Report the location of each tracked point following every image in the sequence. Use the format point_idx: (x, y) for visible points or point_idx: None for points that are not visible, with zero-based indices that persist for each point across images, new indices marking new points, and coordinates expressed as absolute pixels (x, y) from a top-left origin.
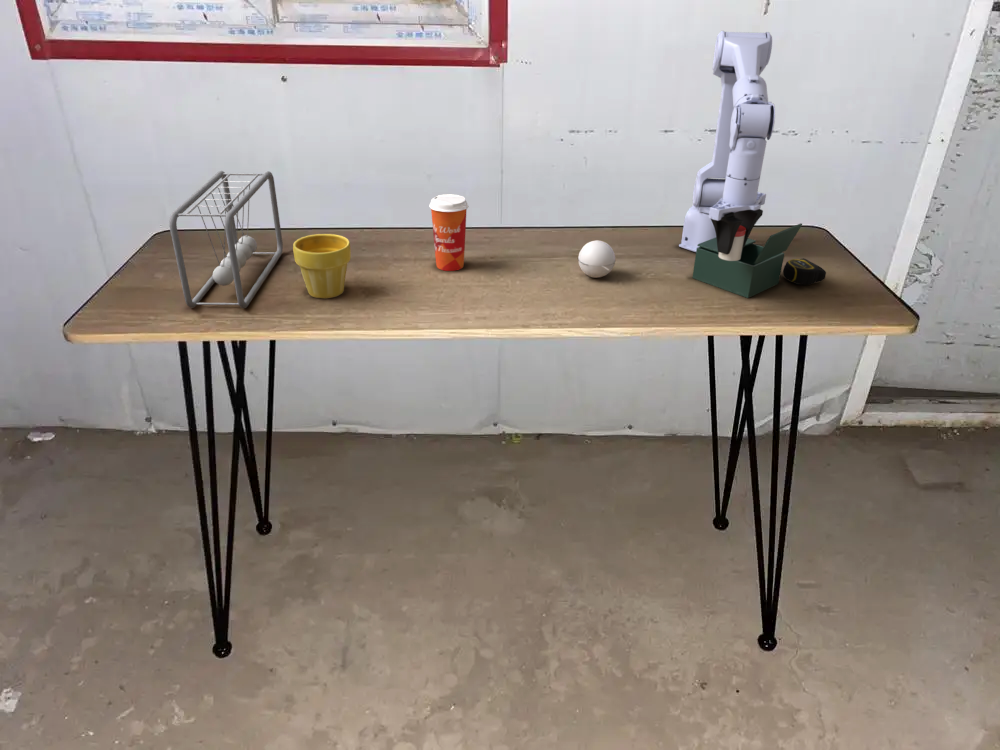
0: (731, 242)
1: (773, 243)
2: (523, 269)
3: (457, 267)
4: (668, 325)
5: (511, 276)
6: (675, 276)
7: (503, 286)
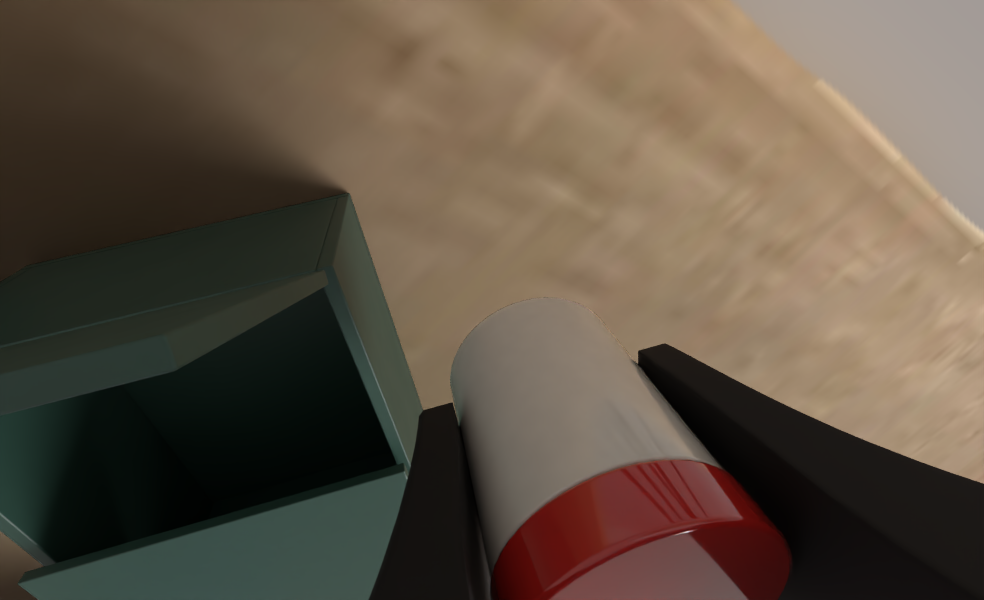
0: (757, 402)
1: (52, 346)
2: None
3: None
4: (849, 141)
5: None
6: None
7: None
